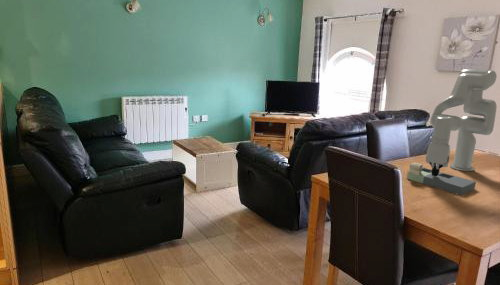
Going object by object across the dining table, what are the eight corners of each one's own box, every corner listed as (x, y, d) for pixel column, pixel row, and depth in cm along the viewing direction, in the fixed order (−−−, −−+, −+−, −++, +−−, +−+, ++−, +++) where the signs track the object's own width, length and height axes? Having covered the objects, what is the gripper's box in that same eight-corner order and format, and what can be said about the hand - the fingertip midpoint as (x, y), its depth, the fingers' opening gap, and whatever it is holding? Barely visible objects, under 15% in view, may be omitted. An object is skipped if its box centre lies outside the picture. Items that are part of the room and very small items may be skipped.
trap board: (420, 173, 204) (421, 167, 203) (474, 189, 183) (475, 181, 182) (406, 178, 196) (407, 171, 195) (461, 195, 174) (462, 187, 173)
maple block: (411, 171, 196) (412, 162, 194) (421, 173, 193) (422, 164, 191) (408, 173, 192) (410, 164, 191) (418, 175, 189) (420, 166, 188)
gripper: (422, 139, 186) (417, 172, 191) (452, 145, 175) (445, 181, 179) (429, 137, 191) (424, 170, 195) (459, 143, 179) (453, 178, 183)
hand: (434, 175), depth 187 cm, fingers closed
